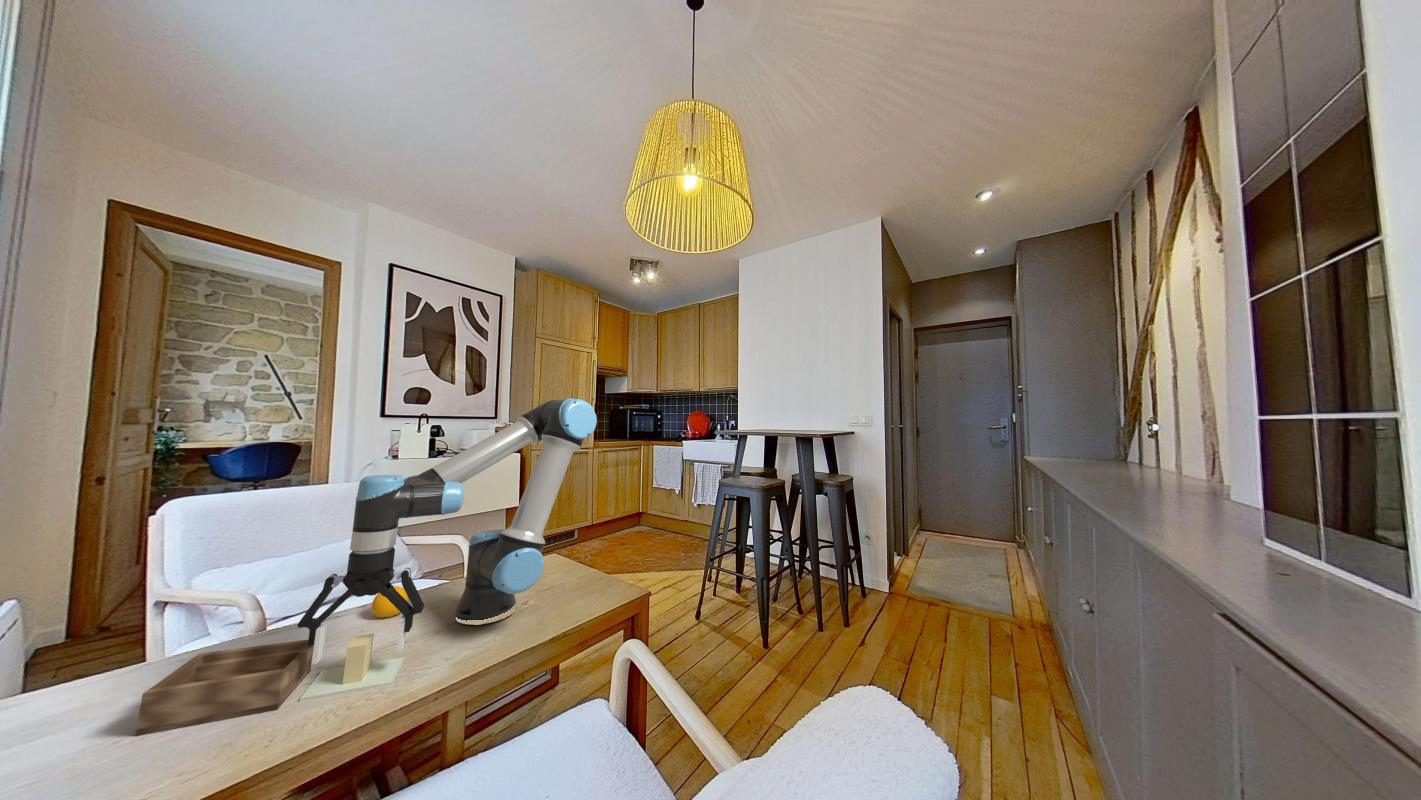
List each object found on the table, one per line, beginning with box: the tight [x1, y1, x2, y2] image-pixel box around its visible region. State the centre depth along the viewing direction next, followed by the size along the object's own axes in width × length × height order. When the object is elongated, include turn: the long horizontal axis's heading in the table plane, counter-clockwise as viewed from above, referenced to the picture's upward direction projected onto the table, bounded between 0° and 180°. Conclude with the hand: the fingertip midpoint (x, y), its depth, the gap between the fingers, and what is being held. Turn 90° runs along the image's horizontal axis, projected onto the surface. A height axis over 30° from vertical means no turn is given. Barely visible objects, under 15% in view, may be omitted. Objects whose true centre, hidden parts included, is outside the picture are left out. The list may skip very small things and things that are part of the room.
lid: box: [299, 633, 405, 702], centre depth 83 cm, size 14×10×8 cm
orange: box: [371, 585, 409, 619], centre depth 111 cm, size 8×8×8 cm
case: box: [134, 638, 314, 737], centre depth 75 cm, size 17×13×6 cm
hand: (360, 654), depth 83 cm, fingers open, 13 cm apart
